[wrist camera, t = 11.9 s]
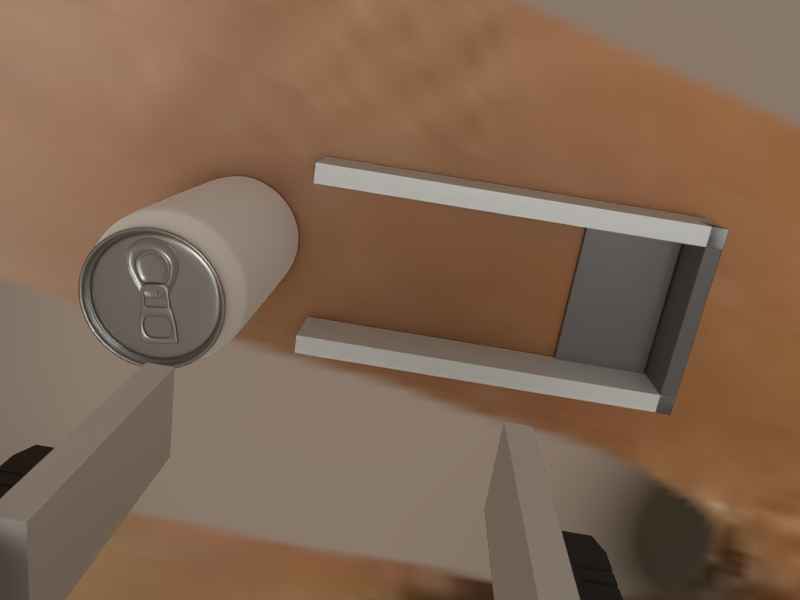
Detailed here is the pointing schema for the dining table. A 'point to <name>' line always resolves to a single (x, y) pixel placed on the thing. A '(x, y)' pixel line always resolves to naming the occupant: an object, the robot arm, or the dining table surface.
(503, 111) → the dining table surface
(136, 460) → the robot arm
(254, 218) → the can
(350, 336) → the grey flat u-shaped frame
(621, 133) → the dining table surface
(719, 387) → the dining table surface
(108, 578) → the dining table surface
